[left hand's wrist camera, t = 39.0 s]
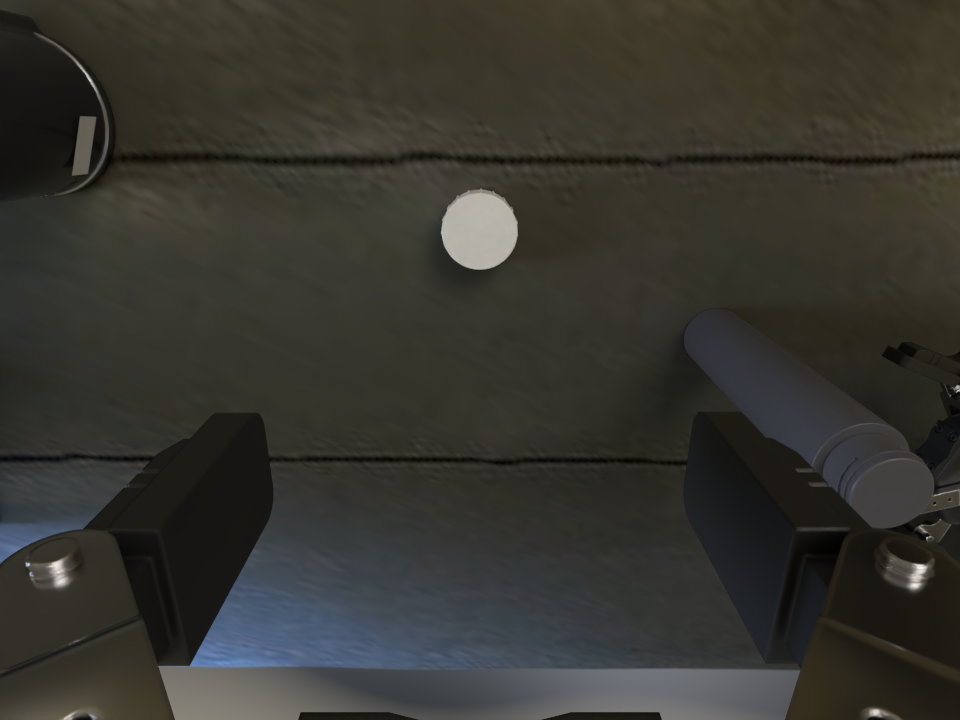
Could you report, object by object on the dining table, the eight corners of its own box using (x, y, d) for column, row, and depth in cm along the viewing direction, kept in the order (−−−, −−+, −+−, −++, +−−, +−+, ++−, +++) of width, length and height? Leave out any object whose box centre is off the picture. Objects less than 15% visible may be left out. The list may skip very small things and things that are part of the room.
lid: (532, 226, 40) (535, 232, 37) (480, 278, 41) (480, 286, 39) (479, 172, 38) (479, 174, 36) (427, 227, 40) (424, 233, 37)
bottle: (673, 354, 43) (819, 522, 24) (699, 299, 41) (875, 435, 23) (726, 371, 43) (908, 549, 25) (754, 318, 42) (968, 466, 23)
